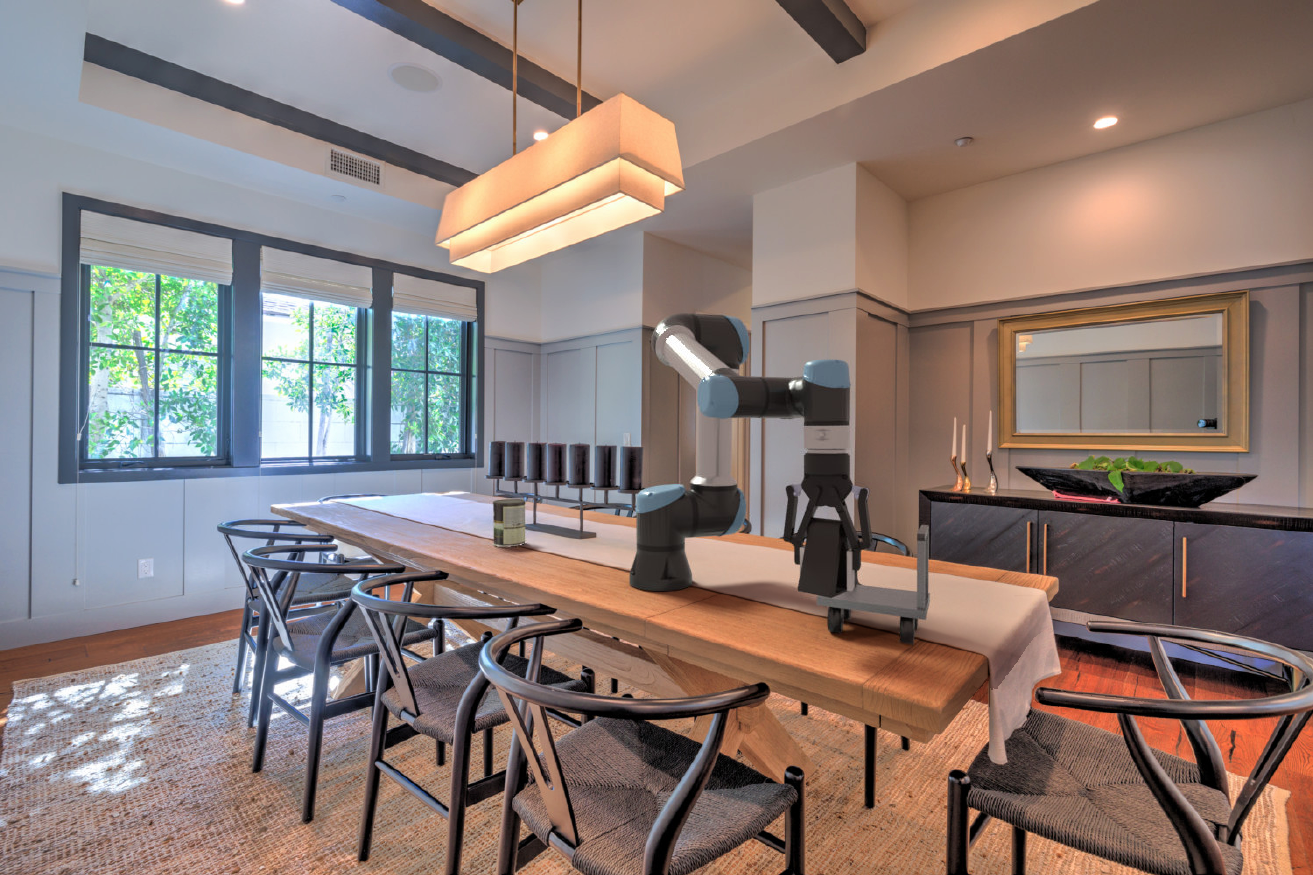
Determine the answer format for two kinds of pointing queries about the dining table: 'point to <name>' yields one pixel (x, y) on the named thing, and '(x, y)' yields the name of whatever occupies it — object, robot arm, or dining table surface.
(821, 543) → the black a-frame stand
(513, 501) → the coffee can
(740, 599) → the dining table surface
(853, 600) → the trolley
